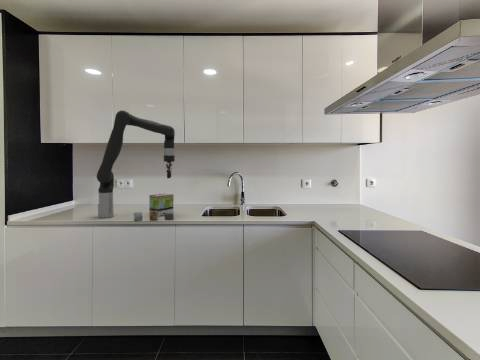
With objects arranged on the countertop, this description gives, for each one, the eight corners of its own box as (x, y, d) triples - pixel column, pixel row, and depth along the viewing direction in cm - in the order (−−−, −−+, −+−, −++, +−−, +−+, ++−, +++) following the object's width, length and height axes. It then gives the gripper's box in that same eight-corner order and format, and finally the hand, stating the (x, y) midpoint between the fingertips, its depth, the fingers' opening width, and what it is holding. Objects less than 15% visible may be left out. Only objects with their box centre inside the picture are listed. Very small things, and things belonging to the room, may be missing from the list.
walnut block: (149, 220, 199) (149, 211, 198) (150, 219, 203) (150, 210, 203) (156, 220, 200) (156, 211, 199) (157, 219, 204) (157, 210, 203)
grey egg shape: (133, 221, 197) (133, 213, 197) (135, 219, 202) (134, 212, 202) (141, 221, 198) (141, 213, 197) (142, 219, 203) (142, 212, 202)
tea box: (158, 216, 213) (158, 195, 211) (149, 215, 218) (148, 194, 217) (173, 213, 225) (173, 193, 224) (164, 211, 231) (164, 192, 229)
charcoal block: (165, 220, 200) (165, 214, 200) (164, 219, 205) (164, 213, 205) (173, 220, 202) (173, 214, 202) (172, 218, 207) (171, 212, 207)
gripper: (164, 154, 218) (164, 177, 219) (162, 154, 204) (162, 178, 205) (175, 154, 219) (175, 177, 221) (173, 154, 205) (173, 178, 207)
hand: (169, 177), depth 213 cm, fingers open, 8 cm apart
